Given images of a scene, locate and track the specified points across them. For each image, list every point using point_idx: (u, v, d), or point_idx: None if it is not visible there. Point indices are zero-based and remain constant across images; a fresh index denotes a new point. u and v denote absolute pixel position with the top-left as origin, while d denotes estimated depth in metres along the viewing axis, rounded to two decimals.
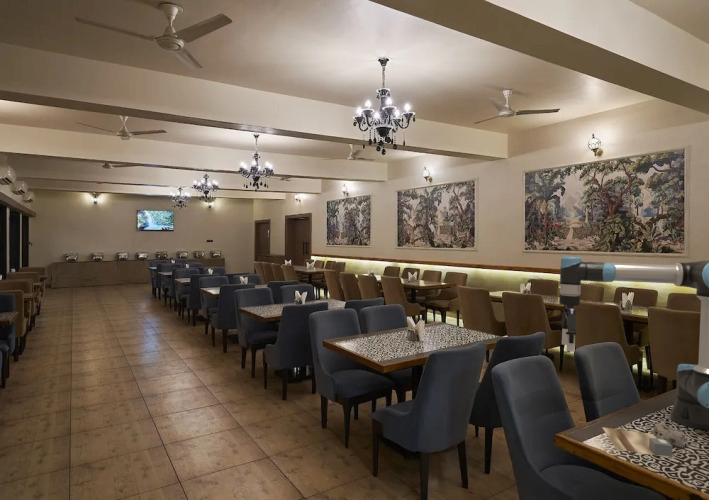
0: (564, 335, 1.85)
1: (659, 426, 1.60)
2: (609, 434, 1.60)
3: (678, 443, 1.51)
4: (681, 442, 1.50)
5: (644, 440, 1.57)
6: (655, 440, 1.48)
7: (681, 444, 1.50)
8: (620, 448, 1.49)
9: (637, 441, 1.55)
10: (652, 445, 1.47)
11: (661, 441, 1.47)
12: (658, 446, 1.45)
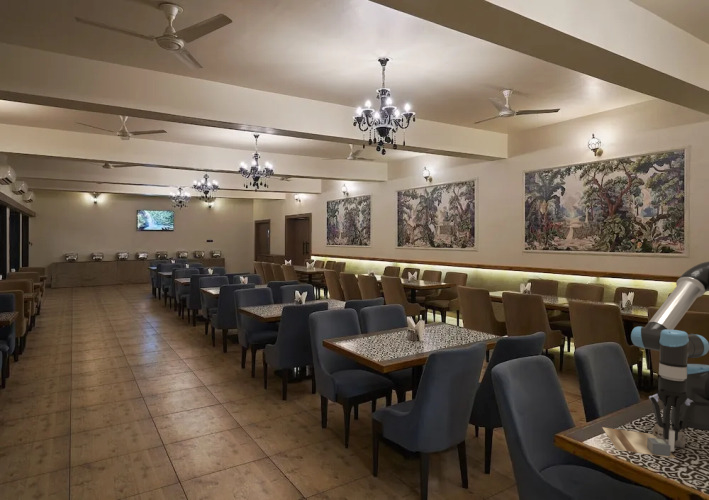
0: None
1: (659, 426, 1.60)
2: (609, 434, 1.60)
3: (678, 443, 1.51)
4: (681, 442, 1.50)
5: (644, 440, 1.57)
6: (653, 440, 1.48)
7: (681, 444, 1.50)
8: (620, 448, 1.49)
9: (637, 441, 1.55)
10: (650, 444, 1.47)
11: (659, 440, 1.47)
12: (656, 445, 1.45)
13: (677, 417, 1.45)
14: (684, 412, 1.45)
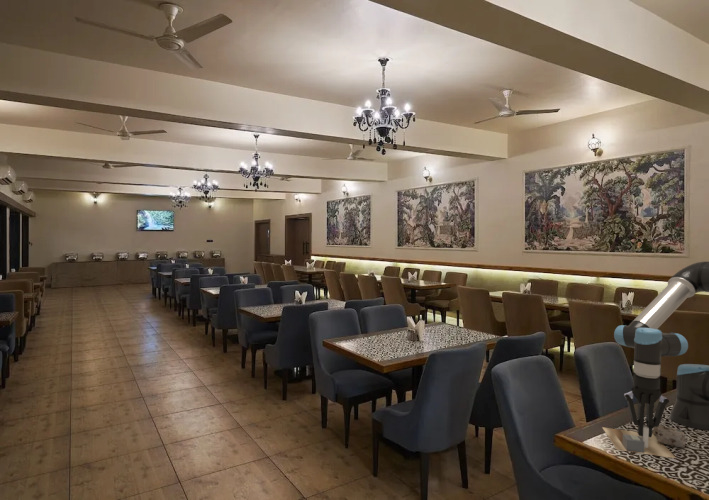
0: None
1: (659, 426, 1.60)
2: (609, 434, 1.60)
3: (678, 443, 1.51)
4: (681, 442, 1.50)
5: None
6: (628, 436, 1.50)
7: (681, 444, 1.50)
8: (620, 448, 1.49)
9: None
10: (625, 441, 1.49)
11: (634, 437, 1.49)
12: (630, 442, 1.47)
13: (651, 414, 1.47)
14: (658, 409, 1.47)
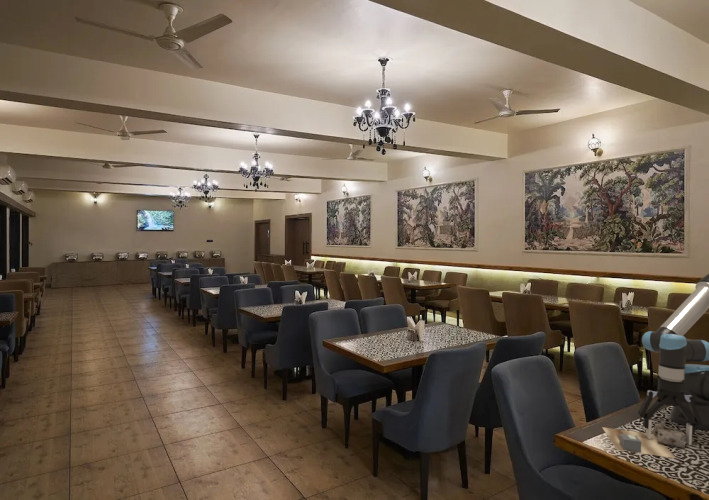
0: (686, 431, 1.56)
1: (659, 426, 1.60)
2: (609, 434, 1.60)
3: (679, 443, 1.51)
4: (681, 442, 1.50)
5: (644, 440, 1.57)
6: (625, 436, 1.50)
7: (681, 444, 1.50)
8: (620, 448, 1.49)
9: None
10: (622, 440, 1.50)
11: (631, 436, 1.49)
12: (627, 441, 1.47)
13: (687, 414, 1.54)
14: (691, 409, 1.55)
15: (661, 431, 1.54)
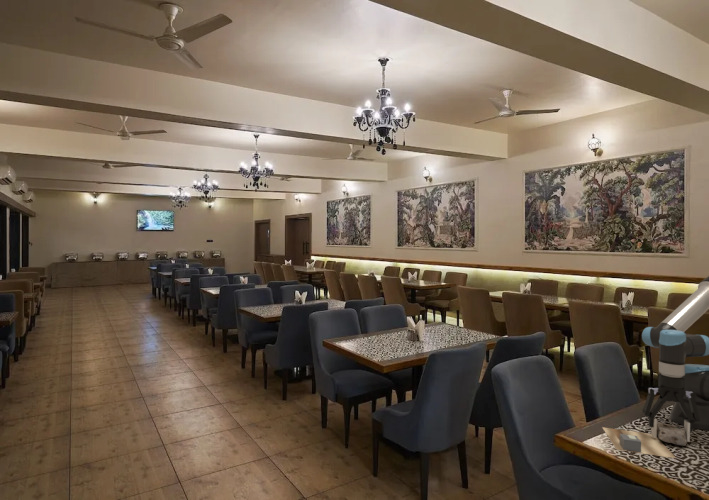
0: (684, 428, 1.56)
1: (659, 424, 1.60)
2: (609, 434, 1.60)
3: (680, 441, 1.51)
4: (683, 440, 1.51)
5: (644, 440, 1.57)
6: (625, 436, 1.50)
7: (683, 442, 1.51)
8: (620, 448, 1.49)
9: None
10: (622, 440, 1.50)
11: (631, 436, 1.49)
12: (627, 441, 1.47)
13: (686, 410, 1.54)
14: (691, 405, 1.55)
15: (663, 429, 1.54)
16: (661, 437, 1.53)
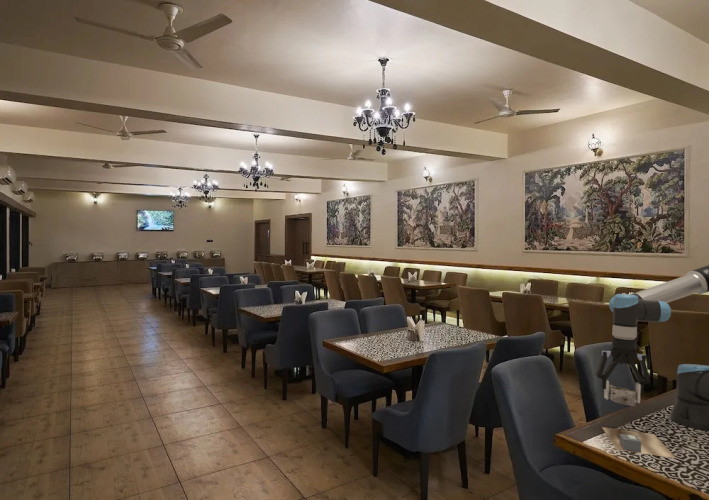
0: (636, 390, 1.59)
1: (612, 386, 1.63)
2: (609, 434, 1.60)
3: (630, 401, 1.54)
4: (633, 400, 1.53)
5: (644, 440, 1.57)
6: (625, 436, 1.50)
7: (633, 402, 1.54)
8: (620, 448, 1.49)
9: None
10: (622, 440, 1.50)
11: (631, 436, 1.49)
12: (627, 441, 1.47)
13: (637, 372, 1.57)
14: (642, 367, 1.58)
15: (614, 390, 1.56)
16: (612, 397, 1.56)
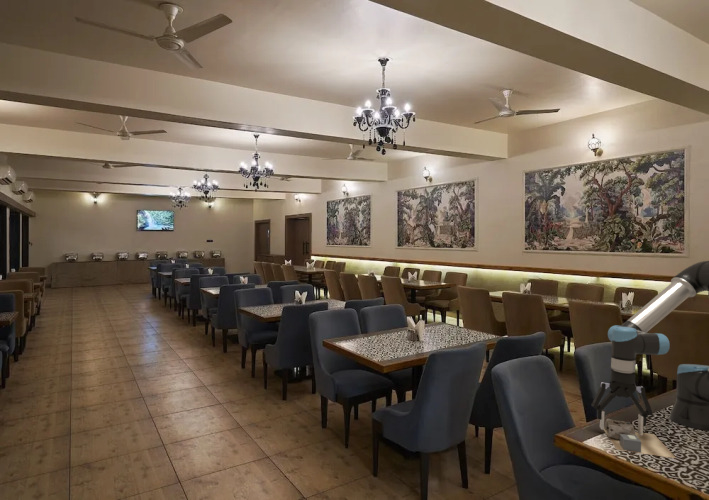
0: (638, 422, 1.58)
1: (610, 421, 1.63)
2: None
3: None
4: None
5: (644, 440, 1.57)
6: (625, 436, 1.50)
7: None
8: (620, 448, 1.49)
9: None
10: (622, 440, 1.50)
11: (631, 436, 1.49)
12: (627, 441, 1.47)
13: (638, 404, 1.57)
14: (642, 400, 1.57)
15: (611, 426, 1.56)
16: (610, 434, 1.56)
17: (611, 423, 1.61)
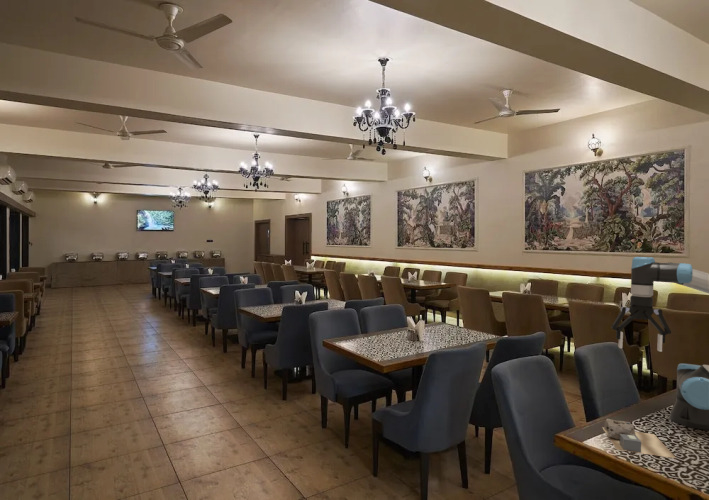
0: (658, 341, 1.75)
1: (610, 421, 1.63)
2: None
3: None
4: None
5: (644, 440, 1.57)
6: (625, 436, 1.50)
7: None
8: (620, 448, 1.49)
9: None
10: (622, 440, 1.50)
11: (631, 436, 1.49)
12: (627, 441, 1.47)
13: (657, 325, 1.73)
14: (661, 321, 1.74)
15: (611, 426, 1.56)
16: (610, 434, 1.56)
17: (611, 423, 1.61)
